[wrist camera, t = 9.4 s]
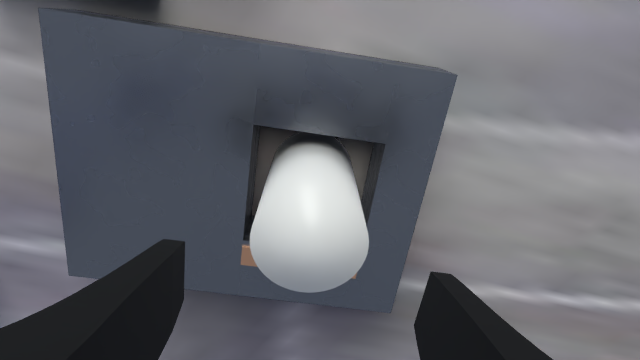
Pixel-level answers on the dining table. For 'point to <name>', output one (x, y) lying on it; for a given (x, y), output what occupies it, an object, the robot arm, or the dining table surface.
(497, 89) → the dining table surface
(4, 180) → the dining table surface
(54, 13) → the hole plate
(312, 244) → the barrel peg
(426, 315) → the robot arm
